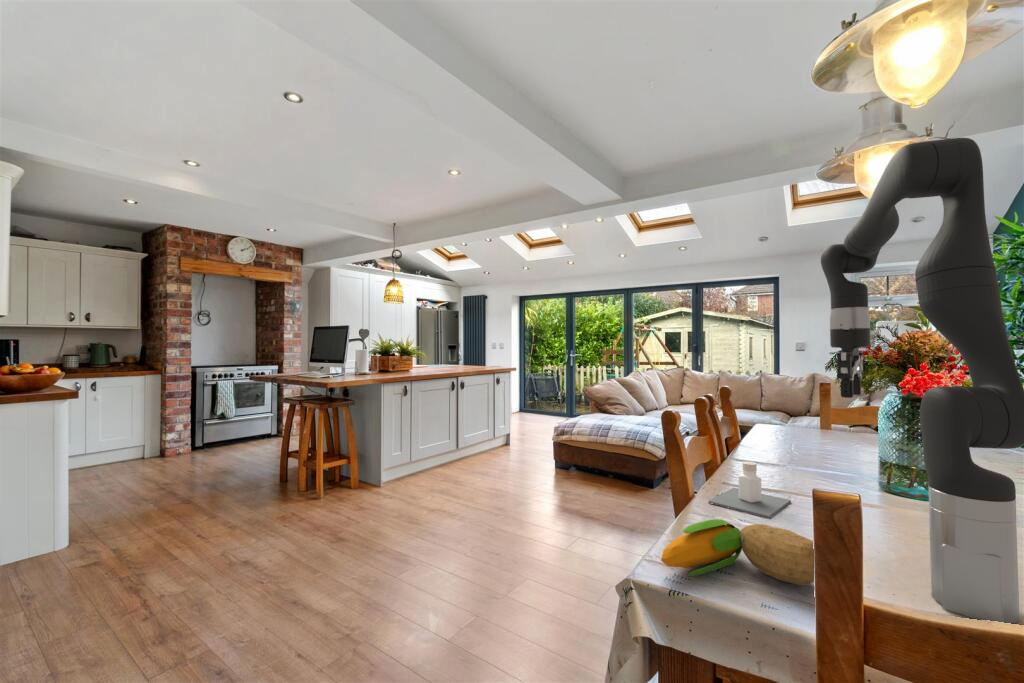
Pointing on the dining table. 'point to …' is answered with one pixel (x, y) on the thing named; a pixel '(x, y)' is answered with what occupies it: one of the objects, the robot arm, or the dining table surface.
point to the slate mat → (761, 508)
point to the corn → (704, 546)
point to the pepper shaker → (749, 483)
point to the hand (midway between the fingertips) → (851, 396)
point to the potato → (779, 553)
